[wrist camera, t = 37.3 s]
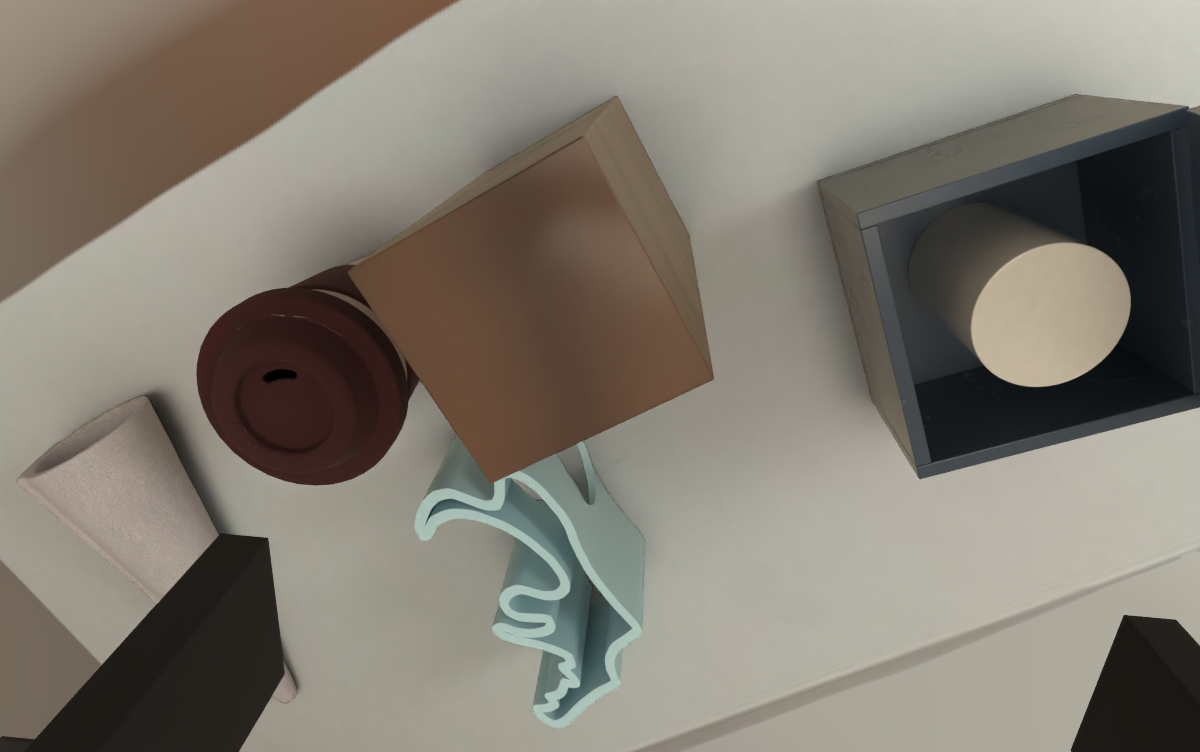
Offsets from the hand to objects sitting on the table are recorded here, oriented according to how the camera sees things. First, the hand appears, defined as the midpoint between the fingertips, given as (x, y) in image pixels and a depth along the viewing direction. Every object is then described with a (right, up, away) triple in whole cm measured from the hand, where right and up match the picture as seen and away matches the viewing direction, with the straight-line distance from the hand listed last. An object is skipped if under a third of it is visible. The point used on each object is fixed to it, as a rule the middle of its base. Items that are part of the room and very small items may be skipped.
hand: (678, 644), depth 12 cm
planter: (-28, -9, +46) cm, 54 cm away
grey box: (+20, +11, +34) cm, 41 cm away
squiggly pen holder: (-4, -5, +43) cm, 43 cm away
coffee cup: (-15, +8, +38) cm, 41 cm away
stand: (-2, +14, +34) cm, 37 cm away
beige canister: (+20, +11, +33) cm, 40 cm away
